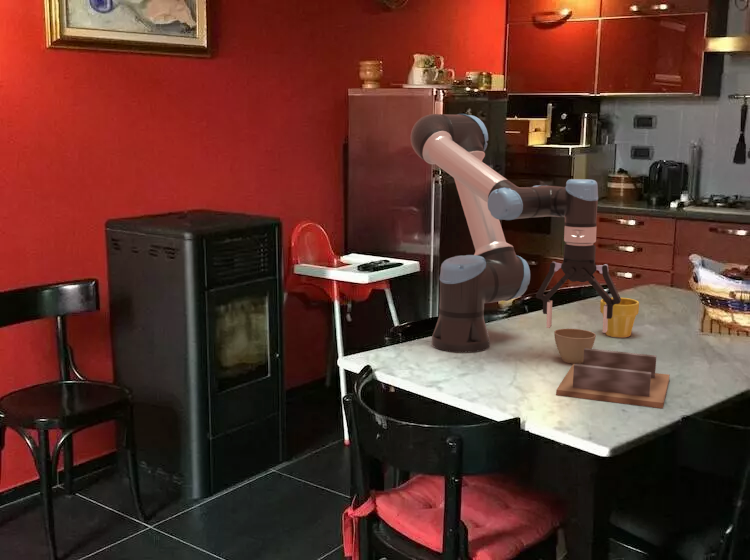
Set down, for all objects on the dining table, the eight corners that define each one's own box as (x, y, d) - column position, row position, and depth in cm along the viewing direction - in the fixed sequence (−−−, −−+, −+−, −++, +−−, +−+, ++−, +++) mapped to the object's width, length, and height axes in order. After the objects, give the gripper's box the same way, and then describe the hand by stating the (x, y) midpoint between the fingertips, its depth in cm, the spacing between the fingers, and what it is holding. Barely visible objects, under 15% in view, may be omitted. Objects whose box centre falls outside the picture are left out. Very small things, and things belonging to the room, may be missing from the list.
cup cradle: (556, 395, 186) (557, 367, 185) (572, 368, 206) (574, 343, 205) (662, 408, 178) (664, 379, 177) (669, 379, 198) (671, 353, 197)
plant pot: (596, 337, 236) (598, 302, 235) (601, 329, 246) (603, 295, 244) (635, 341, 233) (637, 306, 231) (638, 332, 242) (640, 298, 240)
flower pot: (571, 368, 206) (572, 339, 205) (544, 358, 215) (545, 330, 213) (602, 363, 210) (604, 335, 209) (575, 353, 219) (577, 326, 218)
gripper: (525, 243, 208) (523, 328, 212) (631, 247, 199) (627, 336, 203) (531, 239, 215) (529, 322, 219) (634, 244, 206) (630, 330, 210)
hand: (576, 329), depth 211 cm, fingers open, 13 cm apart
